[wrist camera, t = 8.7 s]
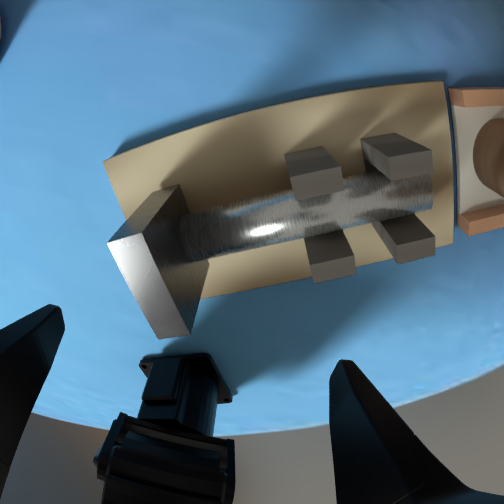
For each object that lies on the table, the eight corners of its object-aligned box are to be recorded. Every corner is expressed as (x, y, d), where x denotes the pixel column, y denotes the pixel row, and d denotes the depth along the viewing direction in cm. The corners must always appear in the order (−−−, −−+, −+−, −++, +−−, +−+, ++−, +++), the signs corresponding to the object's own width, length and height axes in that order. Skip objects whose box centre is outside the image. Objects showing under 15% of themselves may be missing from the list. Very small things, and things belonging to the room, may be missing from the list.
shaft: (414, 219, 17) (462, 275, 12) (184, 270, 19) (158, 339, 14) (406, 132, 14) (466, 161, 9) (152, 192, 16) (106, 243, 11)
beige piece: (444, 235, 19) (485, 280, 14) (170, 294, 22) (149, 350, 17) (432, 80, 14) (488, 86, 9) (111, 156, 17) (63, 186, 12)
